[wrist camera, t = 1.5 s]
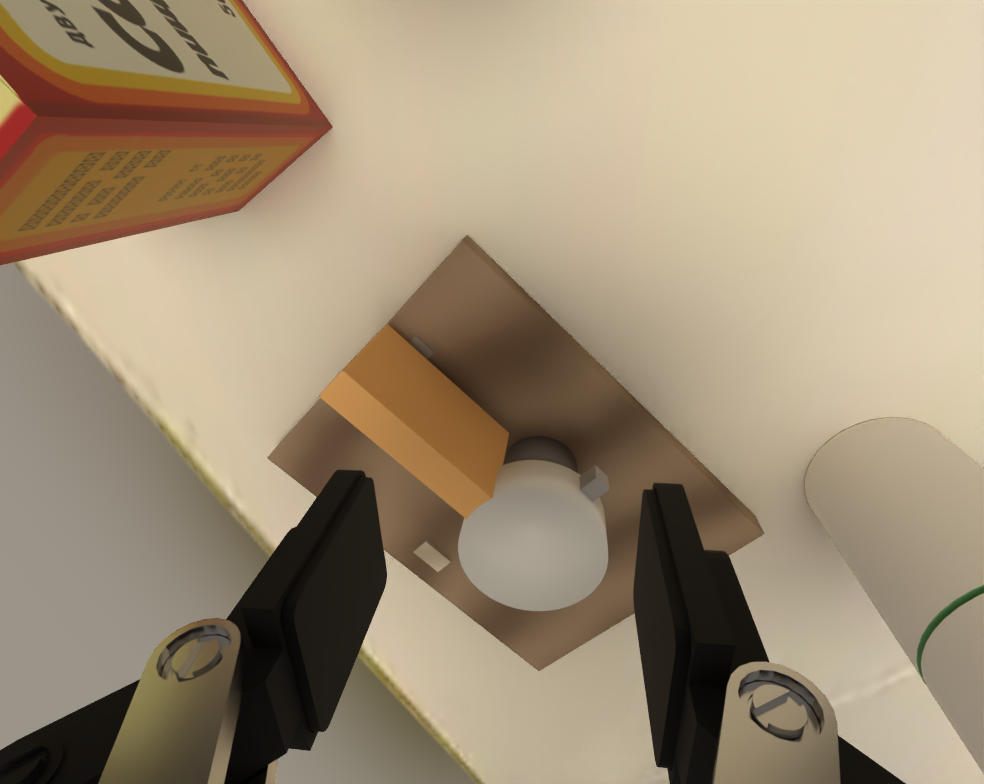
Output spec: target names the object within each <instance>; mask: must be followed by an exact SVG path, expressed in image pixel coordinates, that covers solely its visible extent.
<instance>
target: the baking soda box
mask: <svg viewBox="0 0 984 784" xmlns="http://www.w3.org/2000/svg"><path fill="white" fill-rule="evenodd" d="M331 128H332V125H331V124H330V122H329V121H328V120H327V118H326V117H325V115H324V114H323V113H322V111H321V110H320V108H319V107H318V106H317V104H316V103H315V102H314V100H313V99H312V97H311V96H310V95H309V93H308V92H307V90H306V89H305V88H304V86H303V85H302V83H301V82H300V81H299V79H298V78H297V76H296V75H295V74H294V72H293V71H292V69H291V68H290V67H289V65H288V64H287V62H286V61H285V60H284V58H283V57H282V55H281V54H280V53H279V51H278V50H277V48H276V47H275V46H274V44H273V43H272V41H271V40H270V39H269V37H268V36H267V35H266V33H265V32H264V30H263V29H262V28H261V26H260V25H259V23H258V22H257V21H256V19H255V18H254V16H253V15H252V14H251V12H250V11H249V9H248V8H247V7H246V5H245V4H244V2H243V1H242V0H0V265H3V264H8V263H12V262H17V261H21V260H26V259H30V258H34V257H39V256H43V255H48V254H52V253H56V252H61V251H65V250H69V249H74V248H78V247H83V246H87V245H91V244H96V243H100V242H105V241H109V240H113V239H118V238H122V237H126V236H131V235H135V234H140V233H144V232H148V231H153V230H157V229H161V228H166V227H170V226H175V225H179V224H183V223H188V222H192V221H197V220H201V219H205V218H210V217H214V216H218V215H223V214H227V213H232V212H236V211H239V210H240V209H241V208H242V207H243V206H245V205H246V204H247V203H248V202H249V201H250V200H251V199H252V198H254V197H255V196H256V195H257V194H258V193H259V192H260V191H261V190H263V189H264V188H265V187H266V186H267V185H268V184H269V183H270V182H272V181H273V180H274V179H275V178H276V177H277V176H278V175H279V174H281V173H282V172H283V171H284V170H285V169H286V168H287V167H288V166H290V165H291V164H292V163H293V162H294V161H295V160H296V159H297V158H299V157H300V156H301V155H302V154H303V153H304V152H305V151H306V150H308V149H309V148H310V147H311V146H312V145H313V144H314V143H315V142H317V141H318V140H319V139H320V138H321V137H322V136H323V135H324V134H326V133H327V132H328V131H329V130H330V129H331Z"/></svg>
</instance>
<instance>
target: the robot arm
mask: <svg viewBox="0 0 984 784" xmlns="http://www.w3.org/2000/svg"><path fill="white" fill-rule="evenodd" d="M386 579H387V570H386V563H385V556H384V549H383V542H382V536H381V529H380V522H379V515H378V508H377V501H376V494H375V487H374V482H373V479H372V478H371V477H366V475H365V473H364V471H362V470H336V471H335V472H334V474H333V475H332V477H331V478H330V479H329V481H328V482H327V484H326V485H325V487H324V488H323V489H322V491H321V492H320V494H319V495H318V497H317V498H316V500H315V501H314V502H313V504H312V505H311V507H310V508H309V510H308V511H307V513H306V514H305V515H304V517H303V518H302V520H301V521H300V523H299V524H298V525H297V527H295V528H292V529H291V530H290V531H289V532H288V533H287V534H286V536H285V537H284V538H283V540H282V541H281V543H280V544H279V546H278V547H277V548H276V550H275V551H274V553H273V554H272V555H271V557H270V558H269V560H268V561H267V563H266V564H265V565H264V567H263V568H262V570H261V571H260V572H259V574H258V575H257V577H256V578H255V580H254V581H253V582H252V584H251V585H250V587H249V588H248V589H247V591H246V592H245V594H244V595H243V596H242V598H241V599H240V601H239V602H238V604H237V605H236V606H235V608H234V609H233V611H232V612H231V614H230V615H229V616H228V618H227V619H226V620H225V619H220V618H212V619H203V620H200V621H197V622H193V623H190V624H188V625H186V626H184V627H182V628H180V629H178V630H176V631H175V632H174V633H172V634H171V635H169V636H168V637H167V638H165V639H164V640H163V641H162V642H161V643H160V644H159V645H158V646H157V647H156V648H155V650H154V651H153V653H152V655H151V657H150V658H149V660H148V662H147V664H146V667H145V669H144V672H143V674H142V676H141V679H140V680H138V681H136V682H134V683H132V684H130V685H128V686H125V687H124V688H121V689H120V690H117V691H115V692H113V693H111V694H109V695H107V696H105V697H103V698H102V699H99V700H97V701H95V702H93V703H91V704H89V705H87V706H85V707H83V708H81V709H79V710H77V711H75V712H73V713H71V714H69V715H67V716H65V717H63V718H61V719H59V720H57V721H55V722H53V723H51V724H49V725H47V726H45V727H43V728H41V729H39V730H37V731H35V732H33V733H31V734H29V735H27V736H25V737H23V738H21V739H19V740H17V741H15V742H14V743H12V744H10V745H9V746H7V747H5V748H3V749H2V750H0V784H275V779H276V771H277V759H278V758H280V757H281V756H283V755H284V754H286V753H287V751H288V749H289V748H291V749H300V750H308V751H310V750H311V747H312V745H313V743H314V740H315V738H316V735H317V733H318V731H320V732H324V731H326V729H327V728H328V726H329V724H330V722H331V719H332V717H333V714H334V712H335V709H336V707H337V705H338V702H339V699H340V697H341V695H342V692H343V690H344V687H345V685H346V682H347V680H348V677H349V675H350V672H351V670H352V668H353V665H354V663H355V660H356V658H357V655H358V653H359V650H360V648H361V645H362V643H363V640H364V638H365V636H366V633H367V631H368V628H369V626H370V623H371V621H372V618H373V616H374V613H375V611H376V608H377V606H378V604H379V601H380V599H381V596H382V594H383V591H384V588H385V585H386ZM633 602H634V611H635V618H636V625H637V633H638V640H639V647H640V654H641V661H642V669H643V676H644V683H645V690H646V698H647V705H648V712H649V719H650V726H651V734H652V741H653V748H654V755H655V761H656V765H657V767H663V768H668V775H669V781H670V784H905V783H904V782H903V781H901V780H900V779H898V778H897V777H896V776H894V775H893V774H891V773H890V772H889V771H887V770H886V769H884V768H883V767H882V766H880V765H879V764H877V763H876V762H875V761H873V760H872V759H870V758H869V757H868V756H866V755H865V754H863V753H862V752H861V751H859V750H858V749H856V748H855V747H854V746H852V745H851V744H849V743H848V742H846V741H845V740H844V739H842V738H841V737H839V736H838V730H837V721H836V717H835V713H834V710H833V708H832V706H831V705H830V703H829V701H828V700H827V698H826V696H825V695H824V694H823V693H822V692H821V691H820V690H819V689H818V688H817V687H816V686H815V685H814V684H813V683H812V682H811V681H810V680H808V679H807V678H805V677H804V676H802V675H801V674H799V673H798V672H796V671H794V670H791V669H789V668H787V667H785V666H782V665H779V664H774V663H770V662H769V660H768V657H767V654H766V652H765V649H764V646H763V644H762V641H761V639H760V636H759V633H758V631H757V628H756V625H755V623H754V620H753V618H752V615H751V612H750V610H749V607H748V605H747V602H746V599H745V597H744V594H743V591H742V589H741V586H740V584H739V581H738V578H737V576H736V573H735V570H734V568H733V565H732V563H731V560H730V558H729V556H728V554H727V553H726V552H725V551H717V550H704V548H703V545H702V542H701V539H700V535H699V532H698V529H697V526H696V523H695V520H694V517H693V514H692V511H691V508H690V505H689V502H688V499H687V496H686V493H685V490H684V487H683V485H682V484H674V483H654V484H653V487H652V490H650V489H644V490H643V494H642V504H641V514H640V524H639V535H638V545H637V555H636V566H635V576H634V587H633Z"/></svg>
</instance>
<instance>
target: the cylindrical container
mask: <svg viewBox="0 0 984 784" xmlns="http://www.w3.org/2000/svg"><path fill="white" fill-rule="evenodd" d="M804 486H805V495H806V498H807V501H808V504H809V505H810V507H811V508H812V510H813V511H814V513H815V515H816V516H817V518H818V519H819V521H820V522H821V524H822V525H823V527H824V528H825V530H826V531H827V533H828V535H829V536H830V538H831V539H832V541H833V542H834V544H835V545H836V547H837V548H838V550H839V552H840V553H841V555H842V556H843V558H844V559H845V561H846V562H847V564H848V565H849V567H850V569H851V570H852V572H853V573H854V575H855V576H856V578H857V579H858V581H859V582H860V584H861V585H862V587H863V589H864V590H865V592H866V593H867V595H868V596H869V598H870V599H871V601H872V602H873V604H874V606H875V607H876V609H877V610H878V612H879V613H880V615H881V616H882V618H883V619H884V621H885V622H886V624H887V626H888V627H889V629H890V630H891V632H892V633H893V635H894V636H895V638H896V639H897V641H898V643H899V644H900V646H901V647H902V649H903V650H904V652H905V653H906V655H907V656H908V658H909V659H910V661H911V663H912V664H913V666H914V667H915V669H916V670H917V672H918V673H919V675H920V676H921V678H922V680H923V681H924V683H925V684H926V685H927V687H928V688H929V690H930V692H931V693H932V695H933V697H934V698H935V700H936V701H937V703H938V704H939V706H940V707H941V709H942V710H943V712H944V714H945V715H946V717H947V718H948V720H949V721H950V723H951V724H952V726H953V727H954V729H955V730H956V732H957V734H958V735H959V737H960V738H961V740H962V741H963V743H964V744H965V746H966V747H967V749H968V750H969V752H970V754H971V755H972V757H973V758H974V760H975V761H976V763H977V764H978V766H979V767H980V769H981V770H982V772H983V773H984V467H982V466H981V465H980V464H979V463H977V462H976V461H975V460H974V459H972V458H971V457H970V456H969V455H967V454H966V453H965V452H964V451H962V450H961V449H960V448H959V447H957V446H956V445H955V444H954V443H952V442H951V441H950V440H949V439H947V438H946V437H945V436H944V435H942V434H941V433H940V432H939V431H937V430H936V429H934V428H932V427H931V426H929V425H927V424H925V423H922V422H919V421H916V420H912V419H905V418H882V419H875V420H870V421H866V422H863V423H860V424H857V425H854V426H852V427H850V428H848V429H846V430H844V431H842V432H840V433H839V434H837V435H836V436H835V437H833V438H832V439H830V440H829V441H828V442H827V443H826V444H825V445H824V446H823V447H822V448H821V449H820V450H819V451H818V452H817V453H816V455H815V456H814V458H813V459H812V461H811V462H810V465H809V467H808V469H807V472H806V476H805V482H804Z"/></svg>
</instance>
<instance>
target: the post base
mask: <svg viewBox="0 0 984 784" xmlns="http://www.w3.org/2000/svg"><path fill="white" fill-rule="evenodd" d="M388 325H389V326H390V327H391V328H392V329H394V330H395V331H396V332H397V333H398V334H399V335H400V336H401V337H402V338H404V339H405V340H406V341H407V342H408V343H409V344H410V345H411V346H413V347H414V348H415V349H416V350H417V351H418V352H419V353H420V354H421V355H423V356H424V357H425V358H426V359H427V360H428V361H429V362H430V363H432V364H433V365H434V366H435V367H436V368H437V369H438V370H439V371H440V372H442V373H443V374H444V375H445V376H446V377H447V378H448V379H449V380H451V381H452V382H453V383H454V384H455V385H456V386H457V387H458V388H459V389H461V390H462V391H463V392H464V393H465V394H466V395H467V396H468V397H469V398H471V399H472V400H473V401H474V402H475V403H476V404H477V405H478V406H480V407H481V408H482V409H483V410H484V411H485V412H486V413H487V414H488V415H490V416H491V417H492V418H493V419H494V420H495V421H496V422H497V423H499V424H500V425H501V426H502V427H503V428H504V429H505V430H506V431H507V432H509V437H508V442H507V447H506V452H505V457H504V462H503V465H505V464H508V463H511V462H515V461H522V460H542V461H548V462H553V463H556V464H559V465H563V466H565V467H567V468H569V469H571V470H573V471H575V472H576V473H578V474H579V475H583V474H584V473H585V472H587V471H588V470H589V469H591V468H592V467H593V466H594V465H596V466H597V467H598V468H599V469H600V470H601V471H602V472H603V473H605V474H606V475H607V476H608V483H609V490H608V491H607V492H605V493H604V494H603V495H601V496H600V497H599V498H600V499H601V502H602V505H603V508H604V514H605V523H606V534H607V544H608V565H607V569H606V572H605V575H604V577H603V579H602V581H601V582H600V584H599V585H598V586H597V588H596V589H595V590H594V591H593V592H592V593H591V594H590V595H588V596H587V597H586V598H584V599H583V600H581V601H579V602H577V603H575V604H573V605H570V606H568V607H565V608H561V609H556V610H551V611H528V610H521V609H517V608H513V607H509V606H506V605H504V604H501V603H499V602H497V601H495V600H493V599H491V598H490V597H488V596H487V595H485V594H484V593H483V592H481V591H480V590H479V589H478V588H477V587H476V586H475V585H474V584H473V583H472V582H471V581H470V580H469V578H468V577H467V575H466V574H465V572H464V570H463V568H462V566H461V562H460V559H459V554H458V541H459V535H460V532H461V528H462V524H463V521H464V517H463V516H462V515H461V514H459V513H458V512H457V511H456V510H455V509H453V508H452V507H451V506H450V505H449V504H447V503H446V502H445V501H444V500H443V499H441V498H440V497H439V496H438V495H437V494H435V493H434V492H433V491H432V490H431V489H429V488H428V487H427V486H426V485H425V484H423V483H422V482H421V481H420V480H419V479H417V478H416V477H415V476H414V475H413V474H411V473H410V472H409V471H408V470H407V469H405V468H404V467H403V466H402V465H401V464H399V463H398V462H397V461H396V460H395V459H393V458H392V457H391V456H390V455H389V454H387V453H386V452H385V451H384V450H383V449H381V448H380V447H379V446H378V445H377V444H375V443H374V442H373V441H372V440H371V439H369V438H368V437H367V436H366V435H365V434H363V433H362V432H361V431H360V430H359V429H357V428H356V427H355V426H354V425H353V424H351V423H350V422H349V421H348V420H347V419H345V418H344V417H343V416H342V415H341V414H339V413H338V412H337V411H336V410H335V409H333V408H332V407H331V406H330V405H329V404H327V403H326V402H325V401H324V400H323V399H321V398H320V399H319V401H318V402H317V403H316V404H315V405H314V406H313V407H312V408H311V409H310V411H309V412H308V413H307V414H306V415H305V416H304V417H303V418H302V419H301V421H300V422H299V423H298V424H297V425H296V426H295V427H294V428H293V430H292V431H291V432H290V433H289V434H288V435H287V436H286V437H285V438H284V440H283V441H282V442H281V443H280V444H279V445H278V446H277V447H276V448H275V450H274V451H273V452H272V453H271V454H270V455H269V456H268V457H267V458H268V459H269V460H270V461H272V462H273V463H274V464H275V465H277V466H278V467H279V468H281V469H282V470H283V471H284V472H286V473H287V474H288V475H289V476H291V477H292V478H293V479H295V480H296V481H297V482H298V483H300V484H301V485H302V486H303V487H305V488H306V489H307V490H309V491H310V492H311V493H312V494H314V495H315V496H316V497H318V495H319V494H320V492H321V491H322V489H323V488H324V487H325V485H326V484H327V482H328V481H329V479H330V478H331V477H332V475H333V474H334V472H335V471H336V470H362V471H364V473H365V475H366V477H371V478H372V479H373V482H374V487H375V494H376V501H377V508H378V515H379V522H380V529H381V536H382V542H383V549H384V550H385V551H386V552H388V553H389V554H390V555H391V556H393V557H394V558H395V559H397V560H398V561H399V562H400V563H402V564H403V565H404V566H405V567H407V568H408V569H409V570H411V571H412V572H413V573H414V574H416V575H417V576H418V577H419V578H421V579H422V580H423V581H425V582H426V583H427V584H428V585H430V586H431V587H432V588H433V589H435V590H436V591H437V592H439V593H440V594H441V595H442V596H444V597H445V598H446V599H448V600H449V601H450V602H451V603H453V604H454V605H455V606H456V607H458V608H459V609H460V610H462V611H463V612H464V613H465V614H467V615H468V616H469V617H470V618H472V619H473V620H474V621H476V622H477V623H478V624H479V625H481V626H482V627H483V628H484V629H486V630H487V631H488V632H490V633H491V634H492V635H493V636H495V637H496V638H497V639H498V640H500V641H501V642H502V643H504V644H505V645H506V646H507V647H509V648H510V649H511V650H513V651H514V652H515V653H516V654H518V655H519V656H520V657H521V658H523V659H524V660H525V661H527V662H528V663H529V664H530V665H532V666H533V667H534V668H535V669H537V670H538V671H540V670H542V669H543V668H545V667H546V666H548V665H550V664H551V663H553V662H555V661H556V660H558V659H560V658H561V657H563V656H565V655H566V654H568V653H569V652H571V651H573V650H574V649H576V648H578V647H579V646H581V645H583V644H584V643H586V642H587V641H589V640H591V639H592V638H594V637H596V636H597V635H599V634H601V633H602V632H604V631H606V630H607V629H609V628H610V627H612V626H614V625H615V624H617V623H619V622H620V621H622V620H624V619H625V618H627V617H629V616H630V615H632V614H633V613H635V611H634V602H633V587H634V576H635V566H636V555H637V545H638V535H639V524H640V514H641V504H642V494H643V490H644V489H650V490H652V487H653V484H654V483H674V484H682V485H683V487H684V490H685V493H686V496H687V499H688V502H689V505H690V508H691V511H692V514H693V517H694V520H695V523H696V526H697V529H698V532H699V535H700V539H701V542H702V545H703V548H704V550H717V551H725V552H726V553H727V554H728V556H729V555H730V554H732V553H734V552H735V551H737V550H738V549H740V548H742V547H743V546H745V545H747V544H748V543H750V542H752V541H753V540H755V539H756V538H758V537H760V536H761V535H763V534H764V532H763V530H762V528H761V526H760V524H759V522H758V520H757V518H756V516H755V515H754V514H753V513H752V512H751V511H750V510H749V509H748V508H747V507H746V506H745V505H744V504H742V503H741V502H740V501H739V500H738V499H737V498H736V497H735V496H734V495H733V494H732V493H731V492H730V491H729V490H728V489H727V488H726V487H725V486H724V485H723V484H722V483H721V482H720V481H719V480H718V479H717V478H716V477H715V476H714V475H713V474H712V473H711V472H710V471H709V470H708V469H707V468H706V467H705V466H704V465H703V464H702V463H700V462H699V461H698V460H697V459H696V458H695V457H694V456H693V455H692V454H691V453H690V452H689V451H688V450H687V449H686V448H685V447H684V446H683V445H682V444H681V443H680V442H679V441H678V440H677V439H676V438H675V437H674V436H673V435H672V434H671V433H670V432H669V431H668V430H667V429H666V428H665V427H664V426H663V425H662V424H661V423H660V422H658V421H657V420H656V419H655V418H654V417H653V416H652V415H651V414H650V413H649V412H648V411H647V410H646V409H645V408H644V407H643V406H642V405H641V404H640V403H639V402H638V401H637V400H636V399H635V398H634V397H633V396H632V395H631V394H630V393H629V392H628V391H627V390H626V389H625V388H624V387H623V386H622V385H621V384H620V383H619V382H618V381H616V380H615V379H614V378H613V377H612V376H611V375H610V374H609V373H608V372H607V371H606V370H605V369H604V368H603V367H602V366H601V365H600V364H599V363H598V362H597V361H596V360H595V359H594V358H593V357H592V356H591V355H590V354H589V353H588V352H587V351H586V350H585V349H584V348H583V347H582V346H581V345H580V344H579V343H578V342H577V341H576V340H574V339H573V338H572V337H571V336H570V335H569V334H568V333H567V332H566V331H565V330H564V329H563V328H562V327H561V326H560V325H559V324H558V323H557V322H556V321H555V320H554V319H553V318H552V317H551V316H550V315H549V314H548V313H547V312H546V311H545V310H544V309H543V308H542V307H541V306H540V305H539V304H538V303H537V302H536V301H535V300H534V299H532V298H531V297H530V296H529V295H528V294H527V293H526V292H525V291H524V290H523V289H522V288H521V287H520V286H519V285H518V284H517V283H516V282H515V281H514V280H513V279H512V278H511V277H510V276H509V275H508V274H507V273H506V272H505V271H504V270H503V269H502V268H501V267H500V266H499V265H498V264H497V263H496V262H495V261H494V260H493V259H491V258H490V257H489V256H488V255H487V254H486V253H485V252H484V251H483V250H482V249H481V248H480V247H479V246H478V245H477V244H476V243H475V242H474V241H473V240H472V239H471V238H470V237H469V236H468V235H467V236H466V237H465V238H464V239H463V240H462V241H461V242H460V243H459V245H458V246H457V247H456V248H455V249H454V250H453V251H452V252H451V254H450V255H449V256H448V257H447V258H446V259H445V260H444V261H443V262H442V264H441V265H440V266H439V267H438V268H437V269H436V270H435V271H434V272H433V274H432V275H431V276H430V277H429V278H428V279H427V280H426V281H425V282H424V284H423V285H422V286H421V287H420V288H419V289H418V290H417V291H416V293H415V294H414V295H413V296H412V297H411V298H410V299H409V300H408V301H407V303H406V304H405V305H404V306H403V307H402V308H401V309H400V310H399V311H398V313H397V314H396V315H395V316H394V317H393V318H392V319H391V320H390V321H389V323H388Z"/></svg>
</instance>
